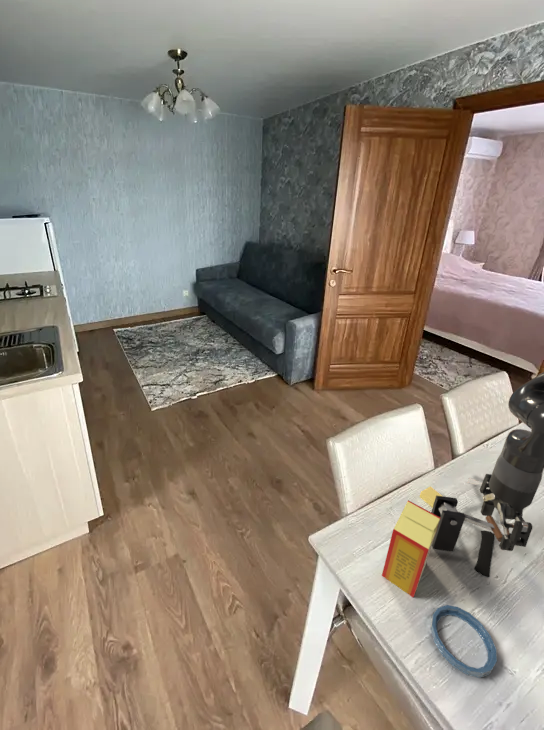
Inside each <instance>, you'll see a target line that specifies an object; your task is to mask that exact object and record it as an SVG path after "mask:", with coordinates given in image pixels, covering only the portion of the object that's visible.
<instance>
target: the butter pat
mask: <svg viewBox="0 0 544 730" xmlns="http://www.w3.org/2000/svg"><path fill="white" fill-rule="evenodd" d="M436 496H443V495H442V494H441V493H440V492H439V491H437V490H436V489H434V488H433V487H432V486H431V485H430V486H428V487H427V488H425V489H423V490H421V491H420V494H419V498H420V499H421V500H422V501H424V502H425V503H426V504H427V505H428V506H429V507H431V509H432V508H433V505H434V502H435V498H436Z"/></svg>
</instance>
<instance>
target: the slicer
mask: <svg viewBox="0 0 544 730" xmlns="http://www.w3.org/2000/svg"><path fill="white" fill-rule="evenodd" d="M443 502H445V503H448V504H450V505H453V506H455V507H456V508H457V506H458V504H459V503H458V502H459V500H458V498H457V497H451V496H444V495H442V496H436V498H435V502H434V505H433V508H432V507H431V511H430V512H431V513H433V514H435V515H437V516H438V517H440V521H439V525H438V528H437V531H436V534H435V537H434V540H433V544H432V547H431V549H433V550H437V551H444V552H449V553H454V550H455V548H456V545H457V542H458V539H459V536H460V533H461V532H462V531H461V530H462V528H463V526H464V523H465V521H464V520H465V515H464V514H465V513H464V512H461V513H459V512H460V511H458V512H452V511H445V510H442V513H441V514H440V511H439V507H440V506H441V505H442V504H443Z"/></svg>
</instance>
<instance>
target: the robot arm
mask: <svg viewBox="0 0 544 730" xmlns="http://www.w3.org/2000/svg"><path fill="white" fill-rule="evenodd" d="M507 404H508V410H509V412H510V413H511V415H513V416H514V417H515V418H516V419H518V420H519V421H520V422H521V423H522V424H524V425H525V426H527V427H528V429H530V430H527V429H523V428H522V429H521V428H516V429H513V430H511V431H509V432H508V434H507V436H506V437H505V441H504V444H503V447H502V450H501V451H500V454H499V455H498V457H497V459H496V462H495V464H494V467H493V470H492V472H491V473H485V475H484V478H483V480H482V481H481V482H482V485H480V488H479V492H480V494H482V495H483V496H482V501H483V502H482V505H481V509H480V514H481V515H482V516H485V517H486V516H492V517H493V514H494V512H495V510H496V511H497V512H498V514H499V523H500V526H502V528H503V529H502V531H503V537H502V539H501V542H499V544H498V546H499V548H500V550H502V551H507V552H512V551H513V550H514V548H515V547H521V548H522V547H523V548H526V547H527V544H528V542H529V539H530V536H531V532H532V530H533V524H532V522H529V521H526V520H525V519H524V517H523V515H524V514H523V513H524V509H526V508H528V507H529V506H531V505H532V503H533V501H534V498H535V497H536V496H535V495H536V494H537V491H538V489H539V486H540V484H541V483H542V482H541V481H542V478H543V473H544V371H543V372H541V373H539V374H538V375H536V376H534V377H533V378H531V379H530V380H529V381H527V382H525V383H524V384H522V385H520V386H519V387H517V388H516V389H514V391H513V392H512V393H511V394H510V397H509V399H508V403H507ZM507 520H510V521H511V520H514V522H507ZM510 529H512V530H511V533H510Z"/></svg>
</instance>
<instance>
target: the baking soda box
mask: <svg viewBox="0 0 544 730" xmlns="http://www.w3.org/2000/svg"><path fill="white" fill-rule="evenodd" d="M431 512H432V511H429V510H427V509H425V508H424V507H422V506H420V505H418V504H416V503H414V502H413V501H411V500H407V502H406V503H405V506H404V508H403V509H402V511H401V514H400V515H399V517H398V519H397V521H396V523H395V525H394V527H393V529H392V533H391V537H390V540H389V544H388V549H387V553H386V557H385V561H384V565H383V568H382V573H381V577H382V578H384V579H386V580H387V581H388V582H390V583H391V584H393V585H394V586H395V587H397V588H399V589H400V590H402V591H403V592H404V593H406V594H407V595H408V596H410V597H412V598H415V595H416V592H417V589H418V586H419V584H420V581H421V578H422V576H423V573H424V570H425V568H426V565H427V562H428V559H429V556H430V553H431V550H432V544H433V540H434V537H435V534H436V531H437V528H438V525H439V521H440V517H438V516H437V515H435V514H433V513H431Z"/></svg>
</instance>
